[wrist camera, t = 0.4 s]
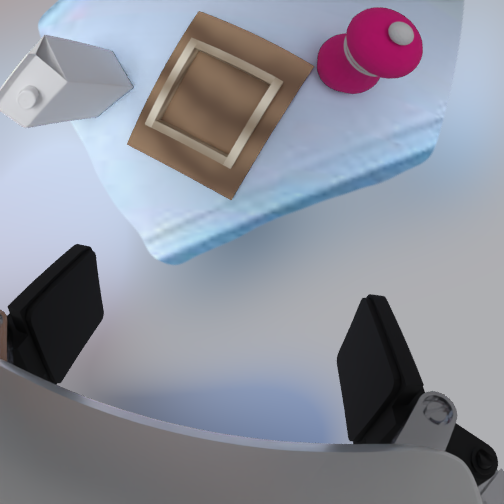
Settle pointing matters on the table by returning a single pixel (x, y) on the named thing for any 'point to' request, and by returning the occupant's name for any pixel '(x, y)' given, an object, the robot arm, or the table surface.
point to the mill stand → (217, 103)
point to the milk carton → (62, 83)
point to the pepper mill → (370, 51)
